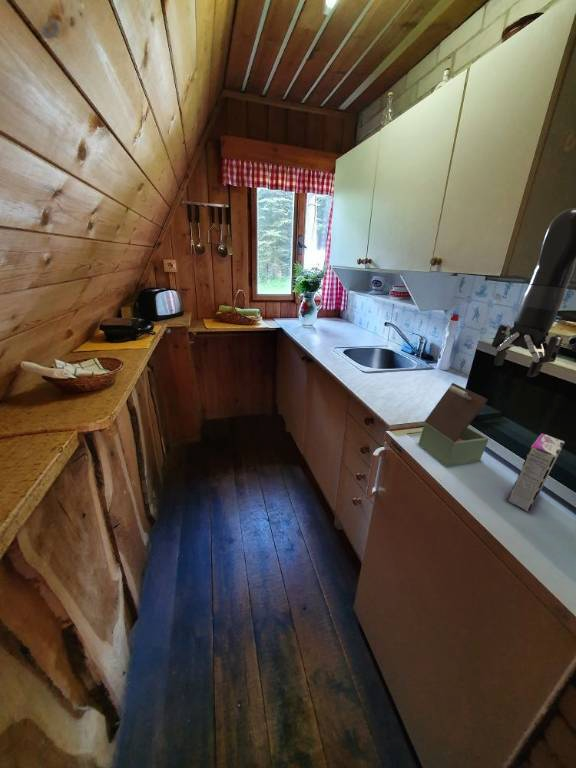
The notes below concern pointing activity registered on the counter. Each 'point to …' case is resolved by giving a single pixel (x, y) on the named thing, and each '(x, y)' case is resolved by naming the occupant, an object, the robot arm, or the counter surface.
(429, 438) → the lidded olive box
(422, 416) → the counter surface
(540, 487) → the candy bar box
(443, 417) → the lid
